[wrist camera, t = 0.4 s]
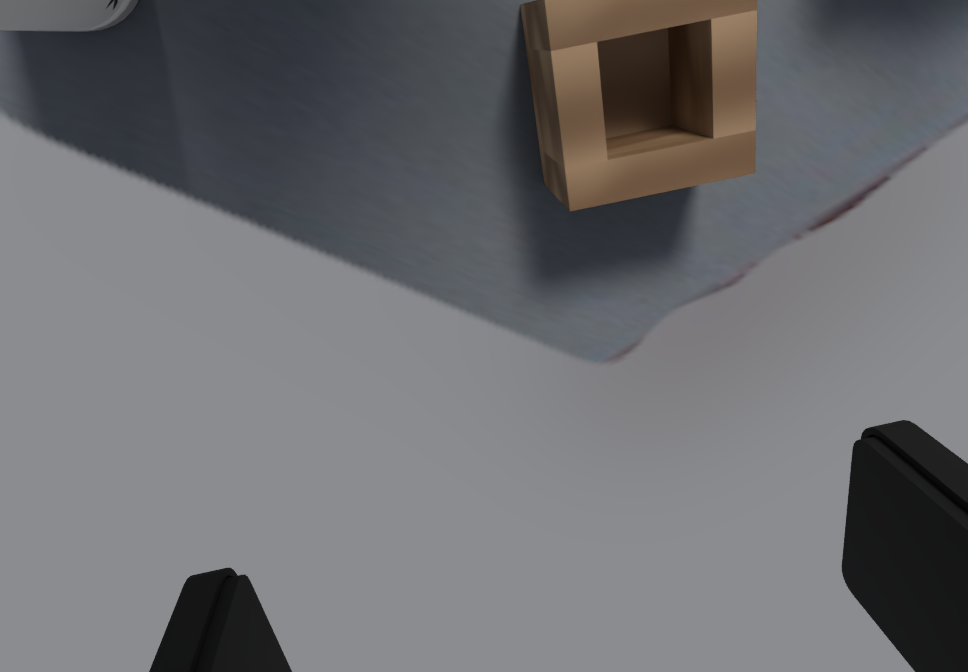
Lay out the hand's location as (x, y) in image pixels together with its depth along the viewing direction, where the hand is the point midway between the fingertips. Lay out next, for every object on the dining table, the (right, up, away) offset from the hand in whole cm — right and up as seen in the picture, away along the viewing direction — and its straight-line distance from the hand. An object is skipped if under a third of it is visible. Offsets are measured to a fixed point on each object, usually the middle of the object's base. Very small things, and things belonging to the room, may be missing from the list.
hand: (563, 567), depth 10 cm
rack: (+6, +17, +24) cm, 30 cm away
